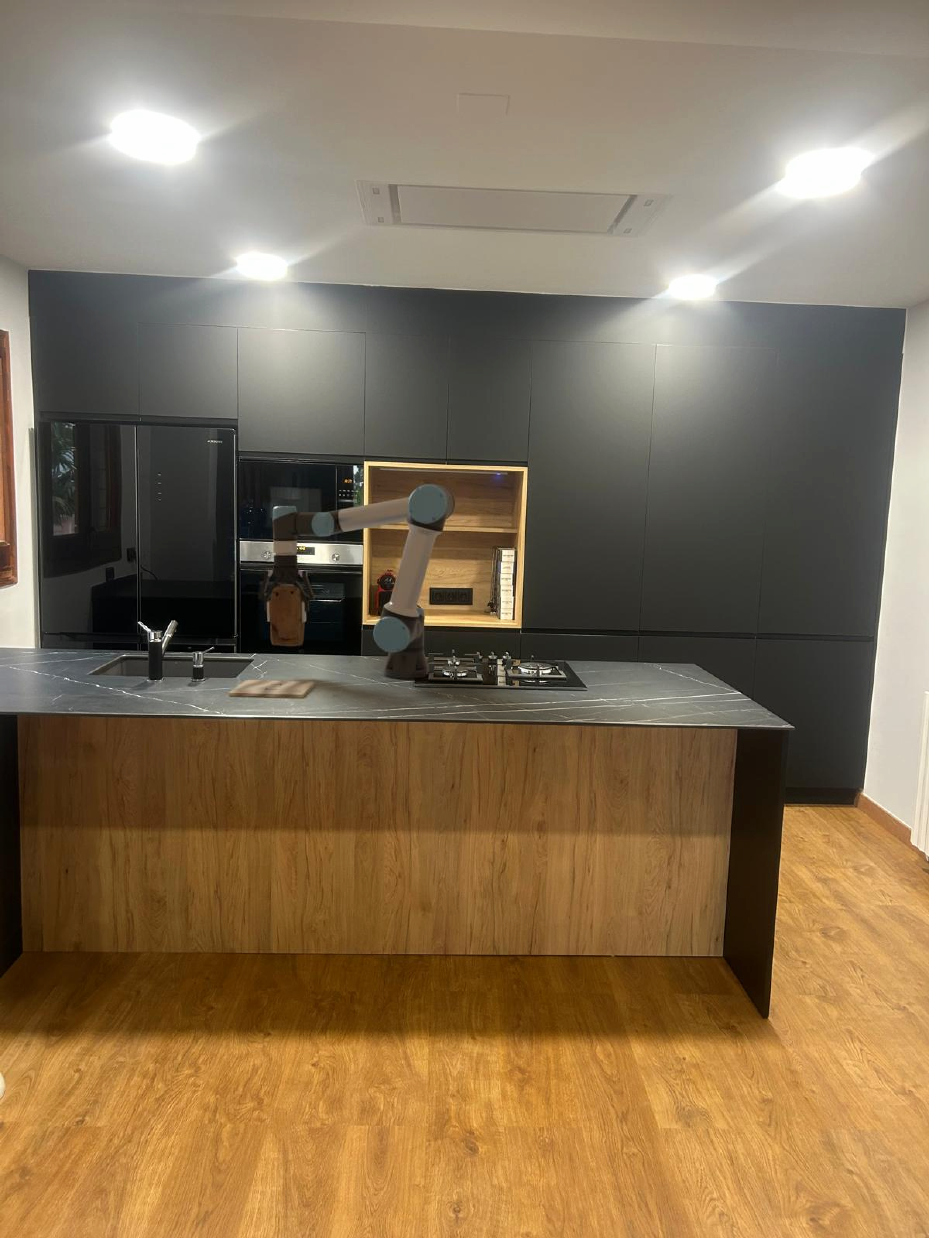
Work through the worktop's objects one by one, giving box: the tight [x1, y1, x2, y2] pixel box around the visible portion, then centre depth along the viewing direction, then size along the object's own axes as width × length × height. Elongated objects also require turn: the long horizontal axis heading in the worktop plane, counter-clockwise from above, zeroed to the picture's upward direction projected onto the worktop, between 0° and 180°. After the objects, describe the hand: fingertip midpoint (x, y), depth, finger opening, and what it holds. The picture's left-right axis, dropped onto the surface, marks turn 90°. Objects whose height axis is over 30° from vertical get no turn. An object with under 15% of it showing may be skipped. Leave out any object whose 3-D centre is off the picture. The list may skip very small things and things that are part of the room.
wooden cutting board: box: [228, 679, 316, 699], centre depth 257 cm, size 22×18×1 cm
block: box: [269, 583, 305, 647], centre depth 275 cm, size 11×8×20 cm
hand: (286, 621), depth 276 cm, fingers closed on block, 11 cm apart
